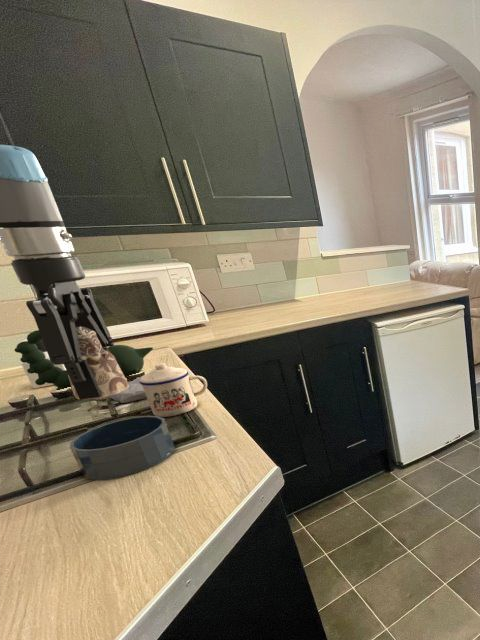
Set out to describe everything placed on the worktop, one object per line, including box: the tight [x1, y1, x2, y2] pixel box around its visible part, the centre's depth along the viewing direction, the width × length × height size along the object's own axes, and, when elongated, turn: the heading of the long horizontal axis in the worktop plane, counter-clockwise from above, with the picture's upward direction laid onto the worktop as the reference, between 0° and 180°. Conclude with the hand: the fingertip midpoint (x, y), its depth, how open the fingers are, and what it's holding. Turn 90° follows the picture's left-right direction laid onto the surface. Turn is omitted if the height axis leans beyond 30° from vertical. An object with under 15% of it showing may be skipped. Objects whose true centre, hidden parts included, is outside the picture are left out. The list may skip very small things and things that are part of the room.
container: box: [18, 338, 66, 389], centre depth 119 cm, size 8×8×13 cm
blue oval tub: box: [69, 415, 176, 481], centre depth 79 cm, size 13×14×6 cm
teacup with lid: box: [140, 362, 208, 418], centre depth 100 cm, size 12×9×12 cm
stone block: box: [109, 374, 147, 404], centre depth 110 cm, size 12×5×10 cm
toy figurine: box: [14, 329, 154, 391], centre depth 113 cm, size 9×19×25 cm
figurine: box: [68, 327, 129, 401], centre depth 73 cm, size 7×7×12 cm
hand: (101, 389), depth 75 cm, fingers closed on figurine, 7 cm apart
